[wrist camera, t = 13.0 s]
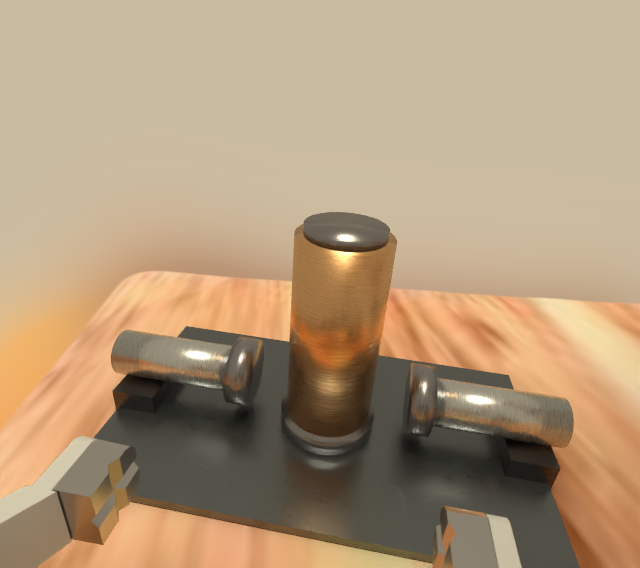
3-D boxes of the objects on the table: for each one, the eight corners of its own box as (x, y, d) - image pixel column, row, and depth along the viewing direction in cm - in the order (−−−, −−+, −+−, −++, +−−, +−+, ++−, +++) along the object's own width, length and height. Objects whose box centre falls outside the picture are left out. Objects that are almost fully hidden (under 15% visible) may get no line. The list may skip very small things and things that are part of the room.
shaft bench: (513, 381, 30) (534, 323, 28) (595, 596, 18) (643, 522, 16) (180, 330, 33) (175, 274, 31) (51, 485, 21) (26, 409, 18)
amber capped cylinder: (330, 376, 29) (347, 202, 23) (391, 425, 25) (429, 233, 20) (262, 411, 25) (265, 218, 20) (322, 472, 22) (345, 257, 16)
